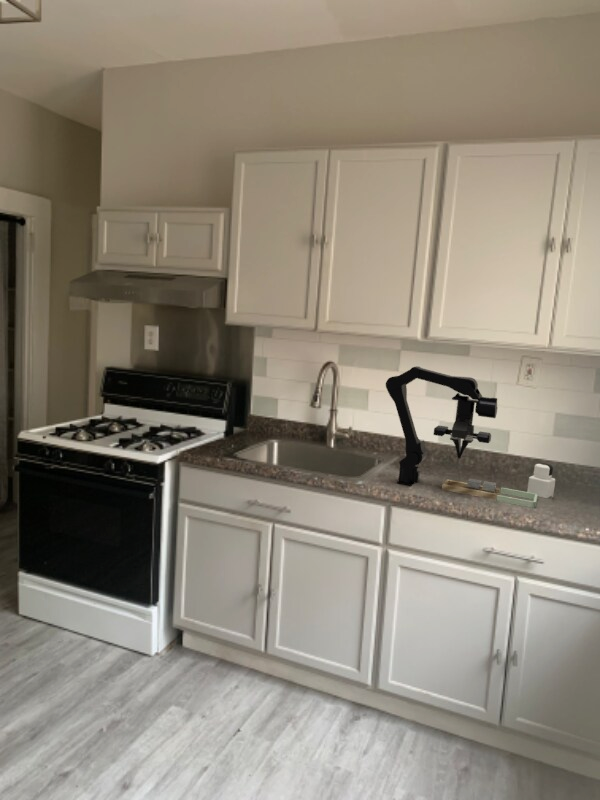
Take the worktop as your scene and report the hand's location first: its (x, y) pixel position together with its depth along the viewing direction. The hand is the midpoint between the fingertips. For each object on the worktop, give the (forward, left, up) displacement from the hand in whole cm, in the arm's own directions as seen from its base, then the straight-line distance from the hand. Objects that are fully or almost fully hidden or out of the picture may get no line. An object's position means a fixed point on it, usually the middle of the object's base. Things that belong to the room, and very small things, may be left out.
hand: (459, 458), depth 218 cm
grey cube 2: (+6, 0, -11) cm, 12 cm away
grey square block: (+11, 0, -11) cm, 15 cm away
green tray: (+21, 0, -12) cm, 24 cm away
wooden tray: (+5, 0, -12) cm, 13 cm away
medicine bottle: (+27, +14, -12) cm, 33 cm away
